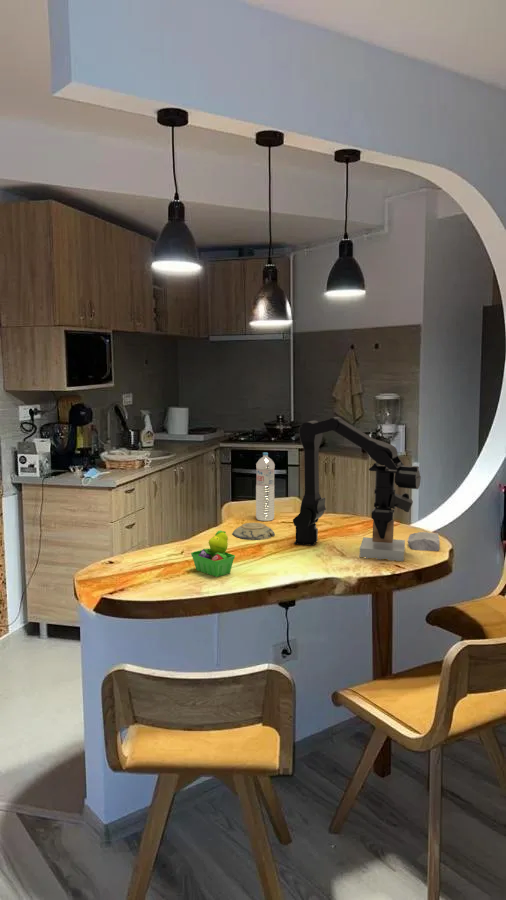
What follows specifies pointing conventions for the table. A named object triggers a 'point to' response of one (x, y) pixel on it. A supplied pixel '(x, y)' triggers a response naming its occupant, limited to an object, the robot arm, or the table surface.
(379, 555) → the tile
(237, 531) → the decorative bowl
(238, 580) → the table surface
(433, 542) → the stone block
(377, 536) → the cube
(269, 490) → the water bottle
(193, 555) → the fruit basket
